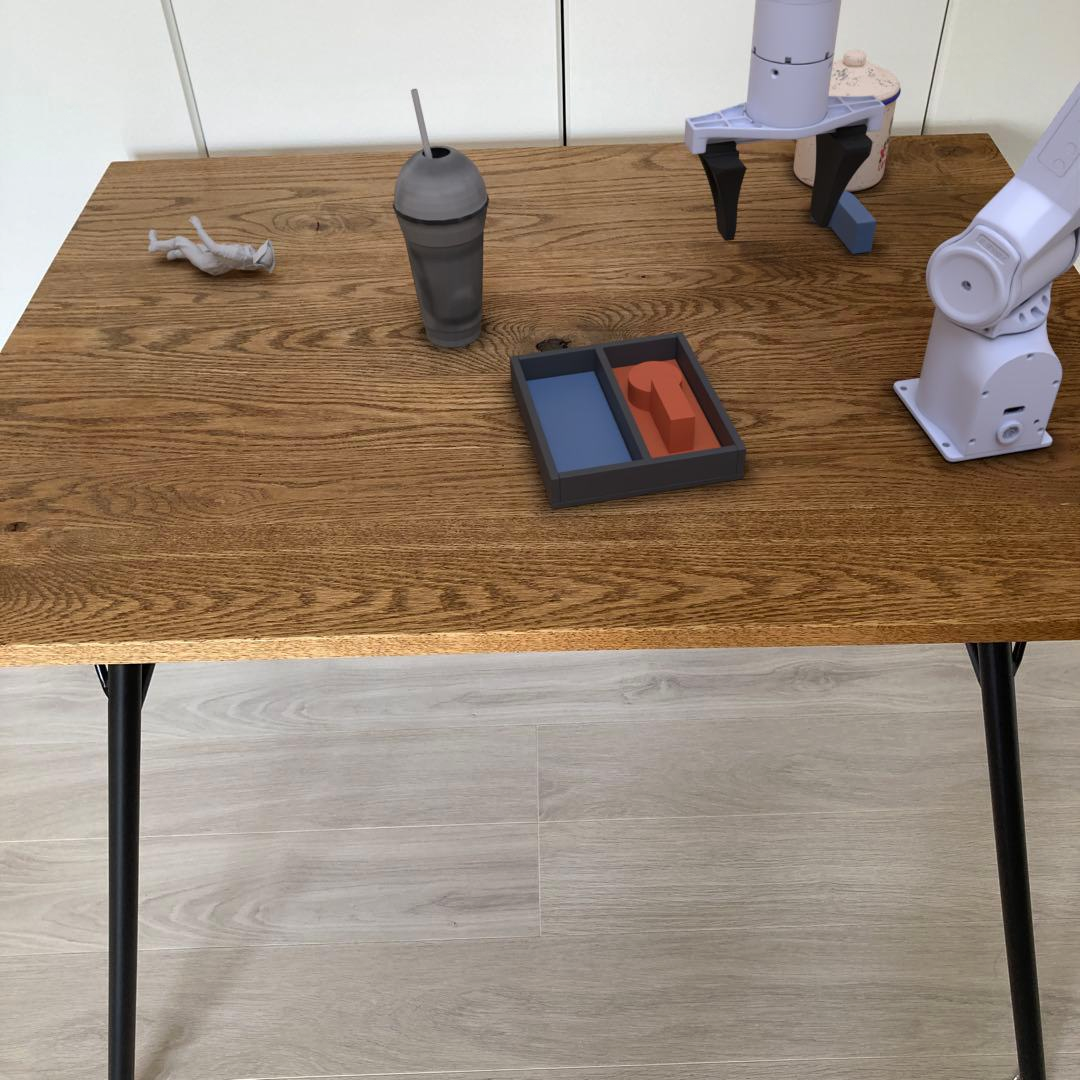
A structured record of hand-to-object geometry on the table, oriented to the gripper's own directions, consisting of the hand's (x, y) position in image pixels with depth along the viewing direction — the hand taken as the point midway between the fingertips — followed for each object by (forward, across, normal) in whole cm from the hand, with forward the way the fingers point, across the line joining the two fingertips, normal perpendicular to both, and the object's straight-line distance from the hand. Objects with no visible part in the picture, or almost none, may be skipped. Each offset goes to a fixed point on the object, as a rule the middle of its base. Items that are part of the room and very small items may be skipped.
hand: (772, 227), depth 91 cm
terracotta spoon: (+7, +12, +11) cm, 18 cm away
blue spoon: (+8, -12, -12) cm, 19 cm away
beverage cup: (+8, +25, -5) cm, 27 cm away
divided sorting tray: (+8, +15, +12) cm, 21 cm away
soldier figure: (+8, +44, -20) cm, 49 cm away
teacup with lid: (+8, -16, -24) cm, 30 cm away
